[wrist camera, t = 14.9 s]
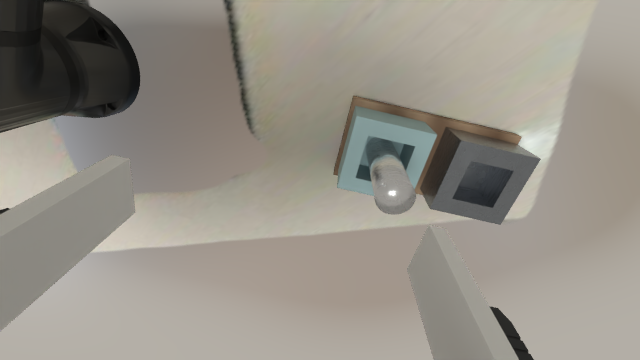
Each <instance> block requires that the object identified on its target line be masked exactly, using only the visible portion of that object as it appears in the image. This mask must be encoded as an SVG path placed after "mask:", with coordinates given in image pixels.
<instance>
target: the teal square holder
mask: <svg viewBox="0 0 640 360" xmlns="http://www.w3.org/2000/svg"><path fill="white" fill-rule="evenodd" d="M374 137H377V138H381V139H386V140H390V141H392V142H393V144H394V147H395V149H396V151H397V153H398V155H399V157H400V159H401V162H402V164H403V166H404V168H405V170H406V172H407V175H408V177H409V179H410V181H411V183H412V185H413V188H414V190H415V187H416V185H417V183H418V180H419V178H420V175H421V173H422V171H423V168H424V166H425V163H426V161H427V159H428V156H429V154H430V151H431V149H432V147H433V144H434V142H435V139H436V137H437V134H436V133H435V132H434V131H433V130H432V129H431V128H430V127H429V126H428V125H427V124H426V122H423V121H419V120H414V119H410V118H406V117H402V116H397V115H393V114H389V113H384V112H380V111H376V110H372V109H367V108H363V107H359V106H355V109H354V112H353V116H352V120H351V124H350V127H349V131H348V135H347V139H346V142H345V146H344V150H343V154H342V158H341V161H340V165H339V169H338V183H337V188H341V189H345V190H350V191H354V192H359V193H363V194H367V195H372V196H374V192H373V187H372V181H371V176H370V171H369V165H368V160H367V154H366V146H367V144H368V142H369V141H370V140H371V139H372V138H374Z"/></svg>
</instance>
